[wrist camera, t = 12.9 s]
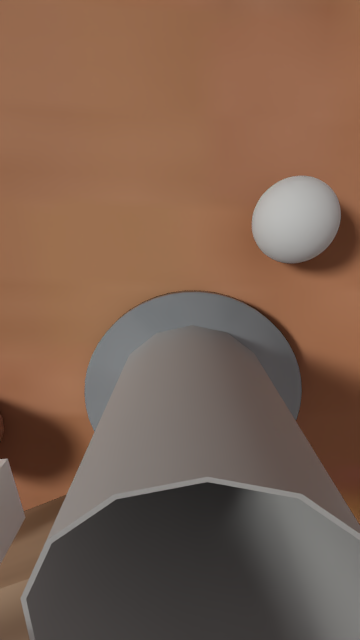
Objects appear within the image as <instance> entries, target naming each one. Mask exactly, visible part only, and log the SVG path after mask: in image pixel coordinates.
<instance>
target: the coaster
mask: <svg viewBox="0 0 360 640" xmlns="http://www.w3.org/2000/svg"><path fill="white" fill-rule="evenodd" d="M190 325H194V326H199V327H203V328H208V329H213V330H218V331H223V332H227V333H228V334H230V335H231V336H232V337H234V338H235V339H236V340H238V341H239V342H240V343H241V344H243V345H244V346H245V347H247V348H248V349H249V350H251V351H252V352H253V353H254V354H255V355H256V357H257V359H258V360H259V362H260V364H261V365H262V367H263V368H264V370H265V372H266V373H267V375H268V377H269V378H270V380H271V381H272V383H273V385H274V386H275V388H276V390H277V391H278V393H279V395H280V396H281V398H282V399H283V401H284V403H285V404H286V406H287V408H288V409H289V411H290V412H291V414H292V416H293V417H294V419H295V421H296V419H297V416H298V412H299V408H300V404H301V394H302V388H301V376H300V371H299V366H298V363H297V360H296V358H295V355H294V353H293V351H292V349H291V347H290V345H289V343H288V342H287V340H286V339H285V338H284V336H283V335H282V333H281V332H280V331H279V330H278V329H277V328H276V327H275V326H274V325H273V324H272V323H271V322H270V321H269V320H268V319H267V318H266V317H265V316H264V315H262V314H261V313H260V312H259V311H257V310H256V309H255V308H253V307H251V306H249V305H248V304H246V303H244V302H242V301H240V300H238V299H235V298H233V297H230V296H227V295H223V294H219V293H215V292H208V291H179V292H172V293H167V294H164V295H160V296H157V297H154V298H152V299H149V300H147V301H145V302H142V303H141V304H139V305H137V306H135V307H134V308H132V309H130V310H129V311H128V312H127V313H125V314H124V315H123V316H122V317H120V318H119V319H118V320H117V321H116V322H115V323H114V324H113V325H112V326H111V327H110V329H109V330H108V331H107V332H106V334H105V335H104V336H103V338H102V339H101V341H100V342H99V343H98V345H97V347H96V349H95V351H94V353H93V355H92V357H91V360H90V363H89V366H88V369H87V374H86V379H85V403H86V409H87V413H88V417H89V420H90V422H91V425H92V427H93V430H94V432H95V430H96V428H97V426H98V423H99V421H100V419H101V417H102V415H103V412H104V410H105V408H106V406H107V403H108V401H109V399H110V397H111V394H112V392H113V390H114V388H115V385H116V383H117V381H118V379H119V377H120V374H121V372H122V370H123V368H124V365H125V363H126V361H127V359H128V357H129V354H131V353H132V352H133V351H134V350H136V349H137V348H138V347H139V346H141V345H142V344H143V343H145V342H146V341H147V340H148V339H150V338H151V337H152V336H153V335H155V334H156V333H159V332H163V331H168V330H172V329H177V328H181V327H185V326H190Z"/></svg>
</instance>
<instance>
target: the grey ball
mask: <svg viewBox="0 0 360 640" xmlns="http://www.w3.org/2000/svg"><path fill="white" fill-rule="evenodd" d="M340 220H341V210H340V204H339V201H338V198H337V196H336V194H335V193H334V191H333V190H332V189H331V188H330V187H329V186H328V185H327V184H326V183H324V182H323V181H321V180H319V179H317V178H314V177H310V176H293V177H289V178H286V179H283V180H281V181H279V182H277V183H275V184H274V185H273V186H271V187H270V188H269V189H268V190H267V191H266V192H265V193H264V194H263V195H262V196H261V198H260V199H259V201H258V203H257V205H256V207H255V209H254V213H253V217H252V232H253V236H254V239H255V241H256V243H257V245H258V247H259V248H260V249H261V251H262V252H263V253H264V254H266V255H267V256H268V257H270V258H272V259H274V260H276V261H279V262H283V263H300V262H304V261H307V260H310V259H312V258H314V257H316V256H317V255H319V254H320V253H322V252H323V251H324V250H325V249H326V248H327V247H328V246H329V245H330V244H331V242H332V241H333V239H334V238H335V236H336V234H337V231H338V229H339V225H340Z"/></svg>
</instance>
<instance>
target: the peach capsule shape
mask: <svg viewBox="0 0 360 640" xmlns="http://www.w3.org/2000/svg"><path fill="white" fill-rule="evenodd" d="M3 434H4V423H3V419H2V416H1V414H0V442H1V440H2V437H3Z"/></svg>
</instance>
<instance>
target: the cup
mask: <svg viewBox="0 0 360 640" xmlns="http://www.w3.org/2000/svg"><path fill="white" fill-rule="evenodd" d="M20 599H21V603H22V608H23V612H24V616H25V621H26V625H27V630H28V634H29V639H30V640H360V525H359V523H358V522H357V520H356V519H355V517H354V515H353V514H352V512H351V510H350V509H349V507H348V506H347V504H346V502H345V501H344V499H343V497H342V496H341V494H340V492H339V491H338V489H337V488H336V486H335V484H334V483H333V481H332V479H331V478H330V476H329V475H328V473H327V471H326V470H325V468H324V466H323V465H322V463H321V461H320V460H319V458H318V457H317V455H316V453H315V452H314V450H313V448H312V447H311V445H310V443H309V442H308V440H307V439H306V437H305V435H304V434H303V432H302V430H301V429H300V427H299V426H298V424H297V422H296V421H295V419H294V417H293V416H292V414H291V412H290V411H289V409H288V408H287V406H286V404H285V403H284V401H283V399H282V398H281V396H280V395H279V393H278V391H277V390H276V388H275V386H274V385H273V383H272V381H271V380H270V378H269V377H268V375H267V373H266V372H265V370H264V368H263V367H262V365H261V364H260V362H259V360H258V359H257V357H256V355H255V354H254V353H253V352H252V351H251V350H249V349H248V348H247V347H245V346H244V345H243V344H241V343H240V342H239V341H238V340H236V339H235V338H234V337H232V336H231V335H230V334H228V333H227V332H223V331H218V330H213V329H208V328H203V327H199V326H194V325H190V326H185V327H181V328H177V329H172V330H168V331H163V332H159V333H156V334H155V335H153V336H152V337H151V338H150V339H148V340H147V341H146V342H145V343H143V344H142V345H141V346H139V347H138V348H137V349H136V350H134V351H133V352H132V353H131V354H129V357H128V359H127V361H126V363H125V365H124V368H123V370H122V372H121V374H120V377H119V379H118V381H117V383H116V385H115V388H114V390H113V392H112V394H111V397H110V399H109V401H108V403H107V406H106V408H105V410H104V412H103V415H102V417H101V419H100V421H99V423H98V426H97V428H96V430H95V432H94V435H93V437H92V439H91V441H90V444H89V446H88V448H87V450H86V453H85V455H84V457H83V459H82V462H81V464H80V466H79V468H78V470H77V473H76V475H75V477H74V479H73V482H72V484H71V486H70V488H69V491H68V493H67V495H66V497H65V500H64V502H63V504H62V506H61V509H60V511H59V513H58V515H57V517H56V520H55V522H54V524H53V526H52V529H51V531H50V533H49V535H48V538H47V540H46V542H45V544H44V547H43V549H42V551H41V553H40V556H39V558H38V560H37V562H36V564H35V567H34V569H33V571H32V573H31V576H30V578H29V580H28V582H27V585H26V587H25V589H24V591H23V594H22V596H21V598H20Z"/></svg>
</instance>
